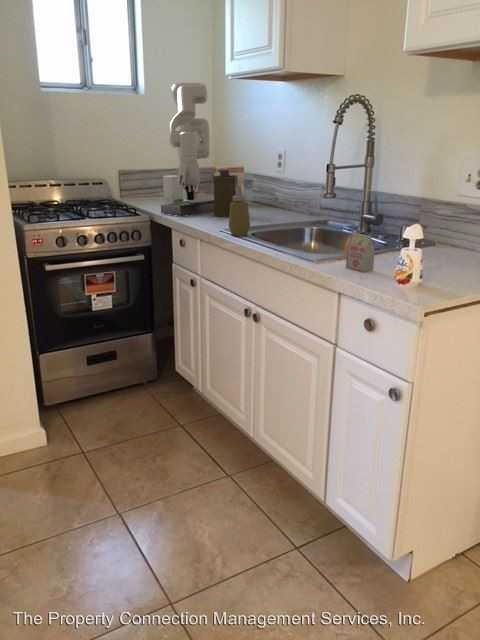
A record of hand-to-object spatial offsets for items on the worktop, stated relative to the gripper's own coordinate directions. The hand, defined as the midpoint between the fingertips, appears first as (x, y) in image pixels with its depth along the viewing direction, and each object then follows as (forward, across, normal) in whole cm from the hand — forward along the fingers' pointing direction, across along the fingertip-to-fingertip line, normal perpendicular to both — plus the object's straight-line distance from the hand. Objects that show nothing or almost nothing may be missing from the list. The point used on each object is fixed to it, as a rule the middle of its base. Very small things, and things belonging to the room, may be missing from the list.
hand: (190, 199), depth 259 cm
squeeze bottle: (+6, +28, +58) cm, 64 cm away
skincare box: (+6, -6, -19) cm, 21 cm away
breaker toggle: (+1, -4, 0) cm, 5 cm away
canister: (+6, -4, +20) cm, 21 cm away
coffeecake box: (+6, -30, -3) cm, 30 cm away
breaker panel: (+6, 0, 0) cm, 6 cm away
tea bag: (+6, +43, +119) cm, 127 cm away
